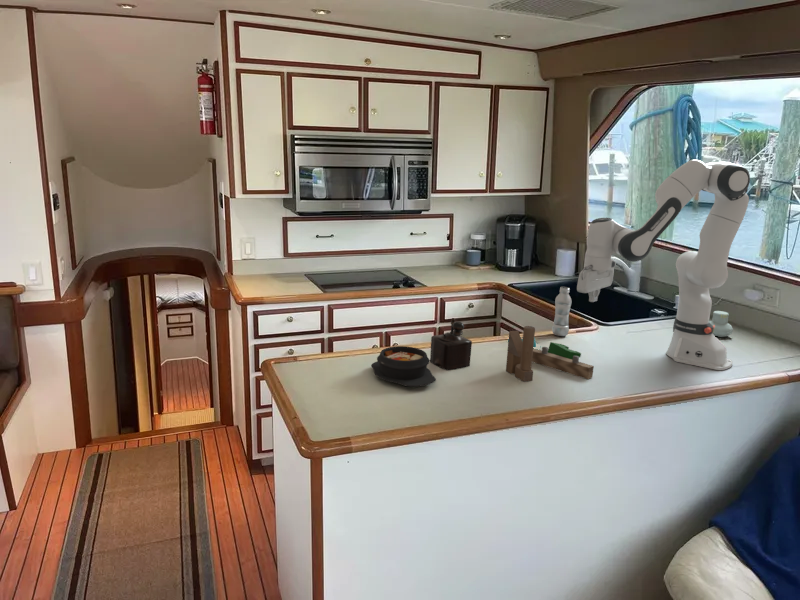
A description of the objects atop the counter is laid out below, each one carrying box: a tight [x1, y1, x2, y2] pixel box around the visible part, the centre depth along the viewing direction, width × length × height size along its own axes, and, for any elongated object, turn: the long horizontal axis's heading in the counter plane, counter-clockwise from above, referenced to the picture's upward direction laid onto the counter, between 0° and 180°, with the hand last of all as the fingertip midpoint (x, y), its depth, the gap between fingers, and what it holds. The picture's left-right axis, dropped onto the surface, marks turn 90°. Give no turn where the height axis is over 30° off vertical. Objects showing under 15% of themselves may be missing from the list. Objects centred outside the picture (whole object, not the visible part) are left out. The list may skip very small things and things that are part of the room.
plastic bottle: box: [551, 286, 572, 337], centre depth 254 cm, size 6×7×20 cm
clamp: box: [548, 341, 582, 360], centre depth 226 cm, size 12×6×9 cm, turn 17°
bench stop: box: [532, 346, 594, 380], centre depth 218 cm, size 24×3×6 cm, turn 46°
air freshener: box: [709, 310, 734, 338], centre depth 266 cm, size 11×8×10 cm
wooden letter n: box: [505, 325, 536, 383], centre depth 208 cm, size 4×11×18 cm, turn 24°
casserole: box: [371, 345, 437, 388], centre depth 204 cm, size 25×19×8 cm
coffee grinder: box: [429, 317, 473, 371], centre depth 214 cm, size 16×11×18 cm
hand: (592, 301), depth 228 cm, fingers closed
